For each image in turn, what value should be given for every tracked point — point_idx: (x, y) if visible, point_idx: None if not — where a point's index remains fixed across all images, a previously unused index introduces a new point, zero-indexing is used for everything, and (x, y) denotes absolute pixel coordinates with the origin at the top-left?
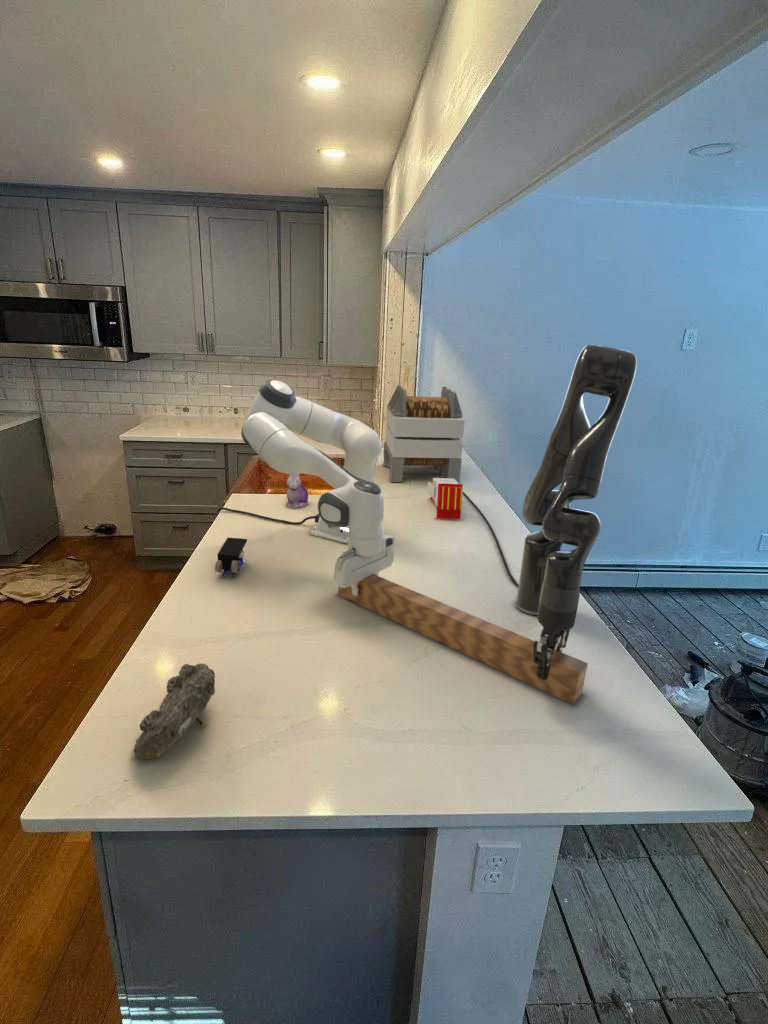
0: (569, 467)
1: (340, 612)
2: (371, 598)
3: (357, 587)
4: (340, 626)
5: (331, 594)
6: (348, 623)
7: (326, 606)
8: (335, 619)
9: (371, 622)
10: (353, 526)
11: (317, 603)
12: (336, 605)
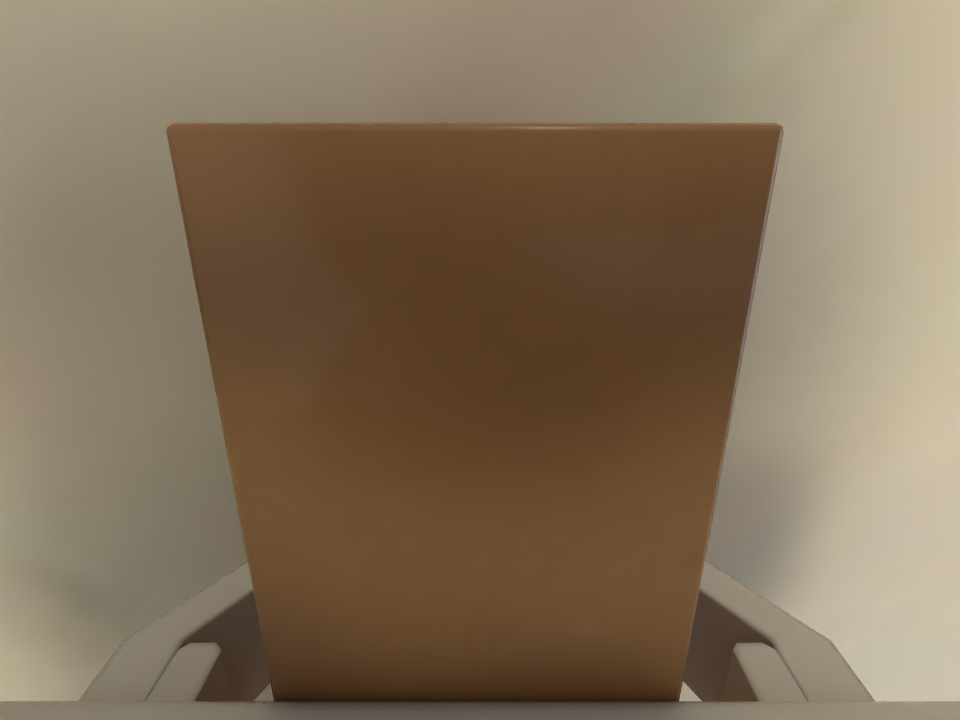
0: None
1: (142, 445)
2: None
3: (251, 696)
4: (7, 591)
5: (312, 65)
6: (95, 604)
7: (79, 255)
8: (26, 495)
9: (265, 698)
10: None
11: (16, 115)
12: (191, 320)
